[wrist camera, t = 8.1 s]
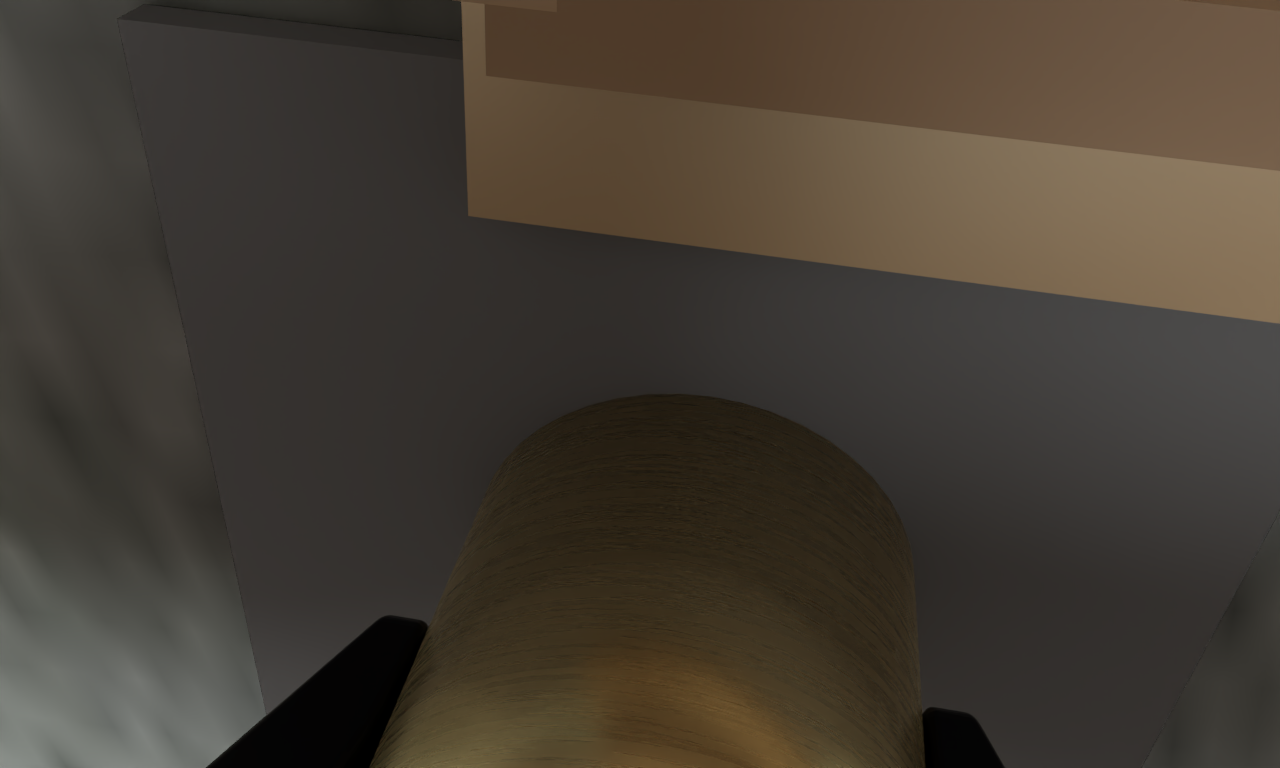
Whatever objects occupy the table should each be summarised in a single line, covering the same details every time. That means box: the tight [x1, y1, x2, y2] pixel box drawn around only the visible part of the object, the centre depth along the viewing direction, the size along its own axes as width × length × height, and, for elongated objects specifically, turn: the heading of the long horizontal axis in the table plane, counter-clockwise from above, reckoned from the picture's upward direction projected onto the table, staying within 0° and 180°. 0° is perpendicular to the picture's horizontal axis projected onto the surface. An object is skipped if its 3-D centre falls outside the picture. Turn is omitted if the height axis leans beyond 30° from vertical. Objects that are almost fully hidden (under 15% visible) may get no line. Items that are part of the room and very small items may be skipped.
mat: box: [117, 4, 1280, 768], centre depth 11 cm, size 10×10×1 cm
